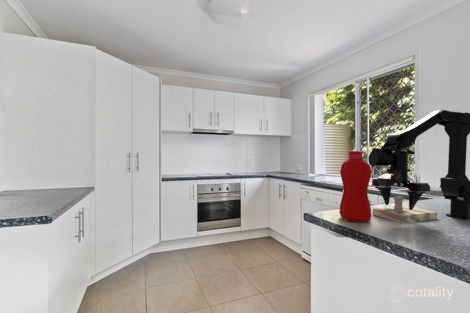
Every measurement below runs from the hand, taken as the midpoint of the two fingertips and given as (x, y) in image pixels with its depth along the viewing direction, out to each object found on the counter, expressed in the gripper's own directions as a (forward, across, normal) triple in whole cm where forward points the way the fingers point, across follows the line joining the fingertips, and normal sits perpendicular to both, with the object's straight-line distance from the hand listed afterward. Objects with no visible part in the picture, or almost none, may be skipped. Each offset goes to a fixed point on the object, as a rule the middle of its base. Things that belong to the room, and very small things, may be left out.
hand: (398, 207), depth 90 cm
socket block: (+4, 0, +3) cm, 5 cm away
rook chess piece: (+4, 0, 0) cm, 4 cm away
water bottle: (+4, -2, -18) cm, 19 cm away
